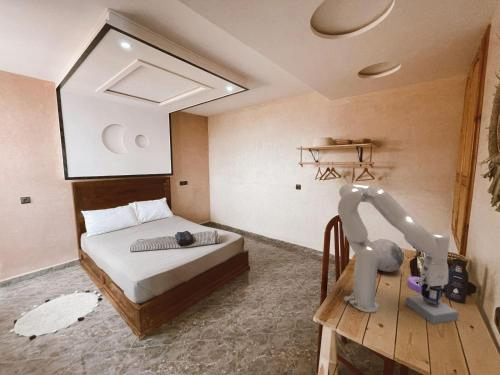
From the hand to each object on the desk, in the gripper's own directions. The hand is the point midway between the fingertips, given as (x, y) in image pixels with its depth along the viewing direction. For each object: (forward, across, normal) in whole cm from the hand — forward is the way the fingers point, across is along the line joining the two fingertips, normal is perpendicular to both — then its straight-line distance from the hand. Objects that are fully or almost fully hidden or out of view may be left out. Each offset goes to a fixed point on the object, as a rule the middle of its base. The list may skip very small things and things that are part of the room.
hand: (431, 295), depth 96 cm
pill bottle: (+3, 0, 0) cm, 3 cm away
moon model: (+8, +8, +37) cm, 39 cm away
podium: (+8, 0, 0) cm, 8 cm away
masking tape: (+8, +13, +16) cm, 22 cm away
